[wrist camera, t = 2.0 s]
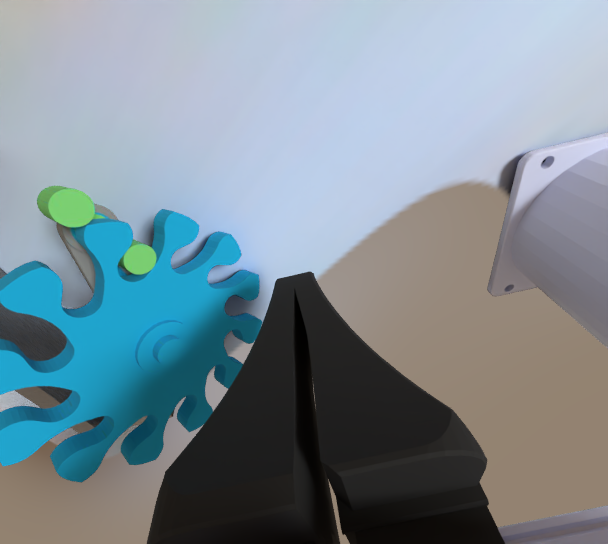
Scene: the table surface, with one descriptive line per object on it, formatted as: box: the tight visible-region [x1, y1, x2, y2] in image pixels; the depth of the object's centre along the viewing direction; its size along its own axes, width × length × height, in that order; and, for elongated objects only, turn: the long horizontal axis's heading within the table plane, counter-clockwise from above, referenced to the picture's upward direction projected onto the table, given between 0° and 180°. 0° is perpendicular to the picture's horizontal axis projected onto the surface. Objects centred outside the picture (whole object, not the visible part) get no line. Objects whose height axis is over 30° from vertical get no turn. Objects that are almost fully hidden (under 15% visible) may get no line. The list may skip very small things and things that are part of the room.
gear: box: [0, 186, 262, 482], centre depth 12 cm, size 11×6×10 cm
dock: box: [0, 269, 174, 433], centre depth 13 cm, size 4×16×3 cm, turn 12°
